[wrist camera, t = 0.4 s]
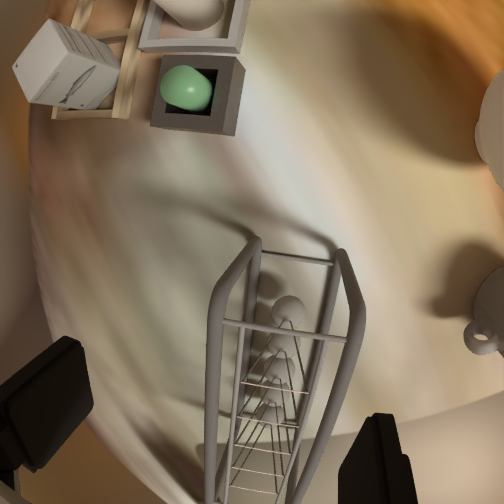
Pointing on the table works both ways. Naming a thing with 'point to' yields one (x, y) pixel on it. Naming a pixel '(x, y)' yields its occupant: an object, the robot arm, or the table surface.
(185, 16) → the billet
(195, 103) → the button
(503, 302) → the coffee mug
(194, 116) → the grey square holder
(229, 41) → the frame
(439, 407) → the table surface
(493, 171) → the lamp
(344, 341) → the newton's cradle
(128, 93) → the wooden frame with crossbar
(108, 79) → the supplement box
